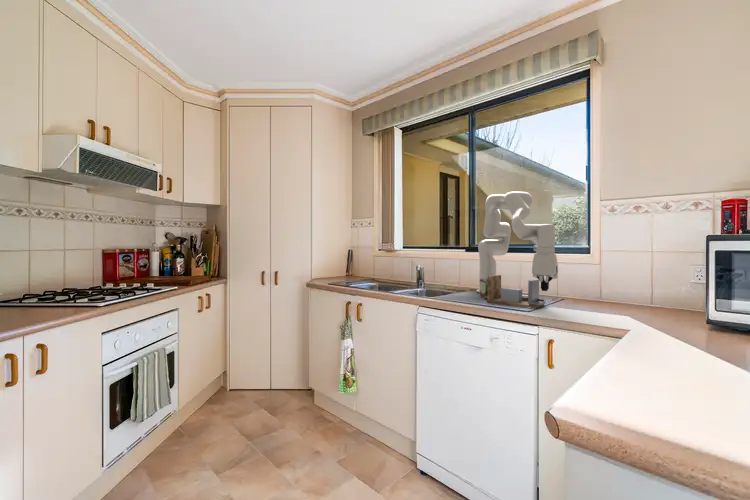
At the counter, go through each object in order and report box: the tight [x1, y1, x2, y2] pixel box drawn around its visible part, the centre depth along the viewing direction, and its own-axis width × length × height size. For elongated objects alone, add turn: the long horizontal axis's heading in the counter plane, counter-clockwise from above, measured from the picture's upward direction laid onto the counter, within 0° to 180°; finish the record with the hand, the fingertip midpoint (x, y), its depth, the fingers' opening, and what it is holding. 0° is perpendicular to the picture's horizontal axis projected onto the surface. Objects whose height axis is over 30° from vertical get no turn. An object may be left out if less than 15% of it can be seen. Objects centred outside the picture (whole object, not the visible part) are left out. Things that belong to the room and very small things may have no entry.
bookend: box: [527, 278, 546, 305], centre depth 164 cm, size 9×5×11 cm, turn 134°
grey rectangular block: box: [501, 287, 523, 303], centre depth 173 cm, size 4×9×6 cm, turn 44°
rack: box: [486, 274, 545, 309], centre depth 171 cm, size 12×23×13 cm, turn 44°
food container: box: [479, 277, 488, 300], centre depth 189 cm, size 12×6×10 cm, turn 179°
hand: (544, 290), depth 161 cm, fingers closed
